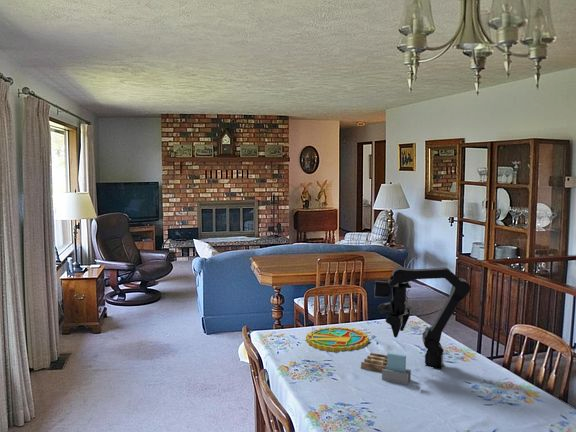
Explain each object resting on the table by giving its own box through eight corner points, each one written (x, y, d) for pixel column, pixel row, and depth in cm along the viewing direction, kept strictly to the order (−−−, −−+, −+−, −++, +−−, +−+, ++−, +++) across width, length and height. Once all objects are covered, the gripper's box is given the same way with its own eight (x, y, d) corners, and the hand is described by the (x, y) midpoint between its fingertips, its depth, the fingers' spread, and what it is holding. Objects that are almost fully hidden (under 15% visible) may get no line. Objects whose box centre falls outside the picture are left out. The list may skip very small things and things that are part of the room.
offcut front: (385, 365, 211) (385, 357, 211) (383, 367, 210) (384, 358, 210) (371, 363, 214) (371, 355, 214) (370, 364, 213) (370, 356, 213)
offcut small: (383, 369, 208) (383, 361, 207) (382, 370, 207) (382, 362, 206) (371, 367, 210) (371, 358, 210) (370, 368, 209) (370, 360, 208)
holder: (410, 380, 198) (410, 369, 197) (407, 385, 193) (407, 374, 193) (385, 376, 202) (385, 365, 202) (381, 380, 198) (382, 369, 198)
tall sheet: (405, 380, 197) (405, 355, 196) (404, 381, 196) (404, 356, 195) (387, 377, 200) (388, 352, 199) (386, 378, 199) (387, 353, 198)
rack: (394, 363, 215) (394, 356, 215) (385, 374, 204) (386, 366, 204) (369, 359, 220) (369, 352, 220) (360, 369, 209) (360, 362, 209)
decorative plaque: (304, 346, 230) (307, 325, 260) (304, 351, 230) (307, 330, 260) (371, 347, 227) (366, 326, 257) (371, 353, 228) (366, 331, 257)
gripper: (387, 290, 224) (386, 325, 225) (373, 300, 207) (373, 337, 209) (412, 293, 219) (411, 328, 220) (400, 304, 202) (399, 342, 204)
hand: (398, 334), depth 213 cm, fingers open, 9 cm apart
